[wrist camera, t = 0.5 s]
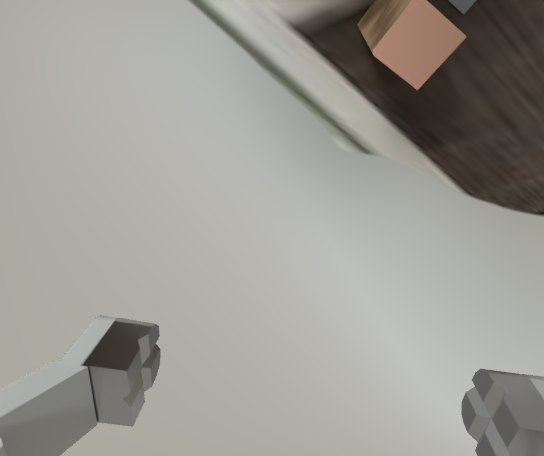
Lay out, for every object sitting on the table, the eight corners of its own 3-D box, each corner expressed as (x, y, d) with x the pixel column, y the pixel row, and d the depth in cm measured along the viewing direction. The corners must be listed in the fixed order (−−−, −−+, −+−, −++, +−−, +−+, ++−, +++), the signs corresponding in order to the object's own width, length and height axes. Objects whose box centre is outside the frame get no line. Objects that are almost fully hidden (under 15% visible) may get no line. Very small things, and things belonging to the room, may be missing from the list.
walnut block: (391, -24, 42) (421, -5, 32) (427, 9, 44) (466, 36, 34) (357, 24, 46) (373, 55, 35) (391, 52, 48) (417, 90, 37)
